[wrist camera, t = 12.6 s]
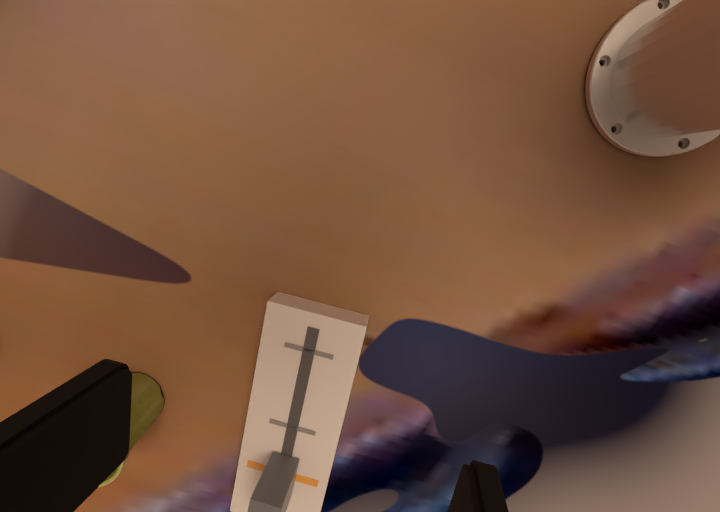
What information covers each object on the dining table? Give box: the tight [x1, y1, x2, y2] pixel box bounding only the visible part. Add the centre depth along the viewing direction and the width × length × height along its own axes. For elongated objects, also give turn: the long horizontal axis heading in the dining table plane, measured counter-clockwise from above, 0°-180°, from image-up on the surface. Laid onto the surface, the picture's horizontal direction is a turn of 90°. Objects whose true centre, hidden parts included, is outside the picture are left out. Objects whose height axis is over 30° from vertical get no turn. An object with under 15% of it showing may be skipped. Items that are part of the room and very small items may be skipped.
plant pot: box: [99, 373, 164, 487], centre depth 40 cm, size 9×9×9 cm
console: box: [230, 292, 370, 512], centre depth 40 cm, size 10×26×3 cm, turn 167°
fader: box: [248, 452, 300, 512], centre depth 37 cm, size 3×5×6 cm, turn 167°
